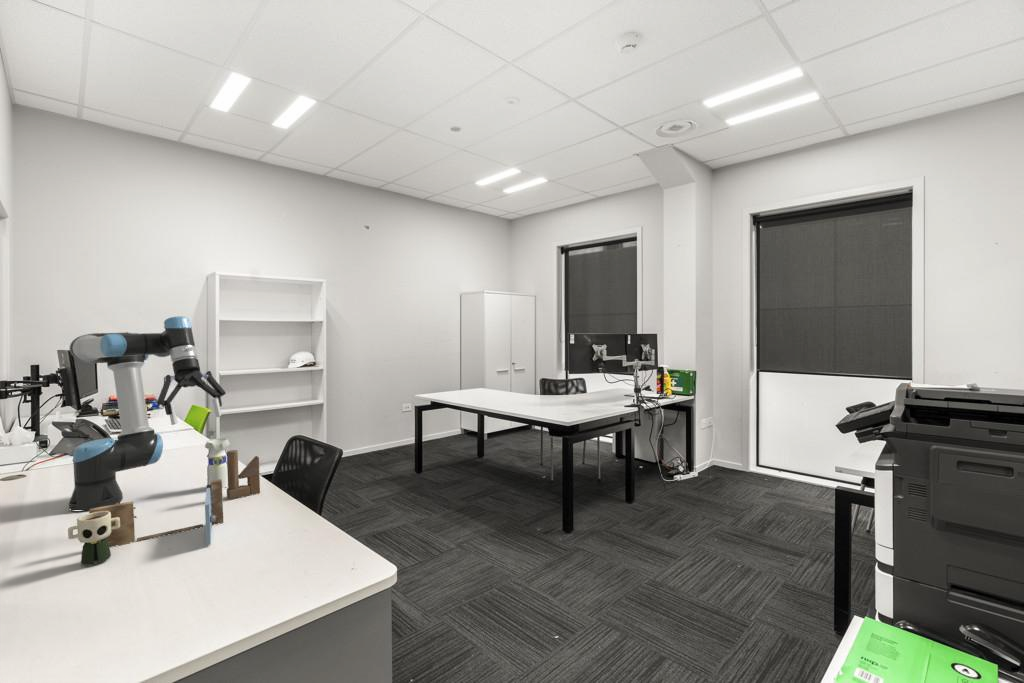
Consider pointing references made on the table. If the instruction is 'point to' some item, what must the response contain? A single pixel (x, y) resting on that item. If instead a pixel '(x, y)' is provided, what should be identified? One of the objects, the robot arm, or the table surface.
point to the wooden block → (242, 476)
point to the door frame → (128, 533)
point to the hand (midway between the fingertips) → (197, 420)
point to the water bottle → (217, 459)
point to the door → (208, 516)
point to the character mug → (94, 536)
